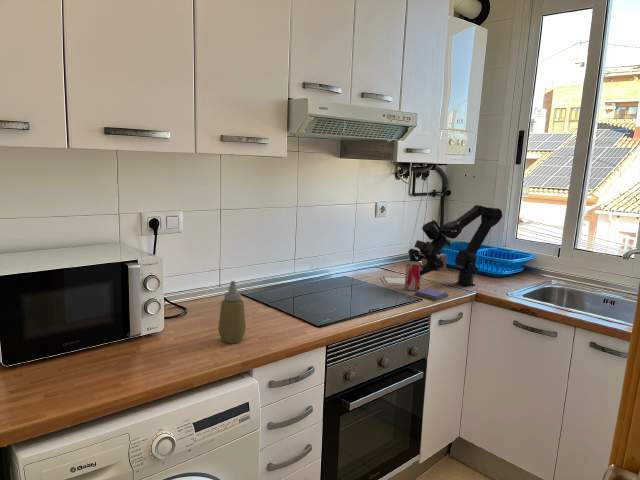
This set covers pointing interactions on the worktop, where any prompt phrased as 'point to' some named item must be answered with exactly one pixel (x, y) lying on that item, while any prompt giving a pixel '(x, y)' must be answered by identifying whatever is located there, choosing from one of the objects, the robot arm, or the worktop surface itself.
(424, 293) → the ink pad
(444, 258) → the food item
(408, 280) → the soda can
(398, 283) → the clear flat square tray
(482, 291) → the worktop surface
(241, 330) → the squeeze bottle
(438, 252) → the robot arm
